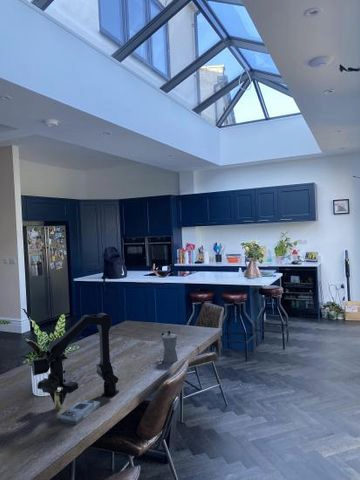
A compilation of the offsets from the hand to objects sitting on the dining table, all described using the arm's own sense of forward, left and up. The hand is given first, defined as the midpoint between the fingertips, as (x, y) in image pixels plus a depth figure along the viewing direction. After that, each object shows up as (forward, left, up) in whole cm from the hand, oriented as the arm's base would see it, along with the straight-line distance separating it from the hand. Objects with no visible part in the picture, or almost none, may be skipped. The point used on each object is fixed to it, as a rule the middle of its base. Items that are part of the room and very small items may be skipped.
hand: (58, 404), depth 171 cm
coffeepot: (-72, +25, -2) cm, 76 cm away
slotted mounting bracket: (+1, +13, -2) cm, 13 cm away
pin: (0, 0, -2) cm, 2 cm away
